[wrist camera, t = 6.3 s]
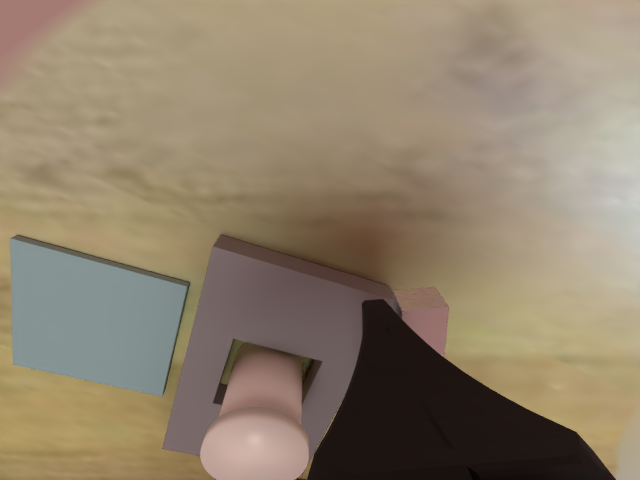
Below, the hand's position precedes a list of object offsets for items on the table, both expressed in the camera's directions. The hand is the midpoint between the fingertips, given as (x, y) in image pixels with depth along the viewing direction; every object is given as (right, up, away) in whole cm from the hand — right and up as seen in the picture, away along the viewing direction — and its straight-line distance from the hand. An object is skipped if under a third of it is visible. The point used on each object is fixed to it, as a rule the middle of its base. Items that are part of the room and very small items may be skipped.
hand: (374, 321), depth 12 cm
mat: (-15, -2, +7) cm, 17 cm away
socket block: (-5, -5, +9) cm, 12 cm away
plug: (-5, -5, +9) cm, 12 cm away
